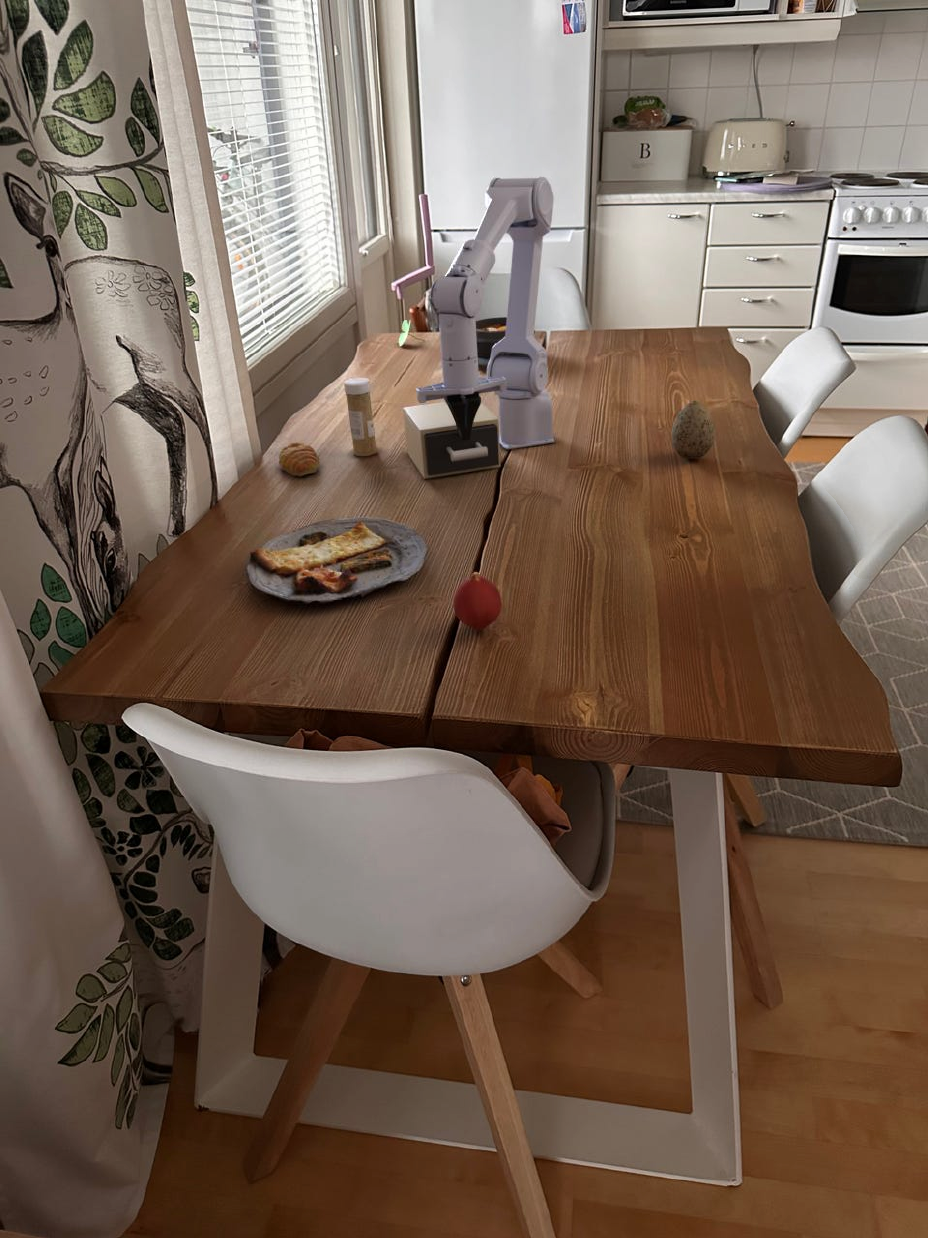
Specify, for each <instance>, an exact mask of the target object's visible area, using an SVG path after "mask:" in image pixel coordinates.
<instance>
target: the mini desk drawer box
mask: <svg viewBox="0 0 928 1238" xmlns="http://www.w3.org/2000/svg"><path fill="white" fill-rule="evenodd" d="M402 409H403V410H402V411H403V421H404V430H405V432H404V433H405V441H406V452H407V455H408V457H409V458H410V459H411V461H412V462H413V464H414V465H415V467H416V469H417V470H418V472H419V473H420V474H421V476H422V477H423V479H432V478H439V477H445V476H453V475H458V474H463V473H465V474H466V473H470V472H471V473H472V472H477V471H483V470H489V469H490V470H491V469H495V468H500V467H501V451H500V450H501V449H500V447H501V445H500V443H499V434H500V425H499V417H497V416H496V415H495V414H494V413H493V412H492V411H491V410H490V409H489V408H488V407H487V406H486V405H485V404H484V403H483V402H481V405H480V407H479V408H478V411H477V413H476V416H475V418H474V422H473V425H472V427H476V426H483V425H496V426H497V432H498V455H499V465H494V466H488V467H481V468H475V469H468V470H462V471H456V472H449V473H443V474H436V475H430V476H429V475H428V473H427V462H426V450H425V439H424V435H425V434H429V433H435V432H442V431H449V430H456V429H457V426H456V423H455V420H454V418H453V416H452V413H451V411H450V409H449V407H448V405H447V404H446V402H445V401H441V402H435V403H434V402H433V403H427V404H420V405H412V406H406V407H403V408H402Z"/></svg>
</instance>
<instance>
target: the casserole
mask: <svg viewBox="0 0 928 1238" xmlns="http://www.w3.org/2000/svg"><path fill="white" fill-rule="evenodd" d="M506 321H507V316H504V317H501V316H500V317H488V318H484V319H479V320H476V339H477V357H478V367H488V364H489V361H490V358H491V352H492V347H493V346H494V345H495V344H497V343H498V342H499V341H500V340H502V339H503V338H504V337H505V333H506ZM535 334H536V330H535V329H534V335H535ZM508 356H520V357H530V356H529V355H528V354H522V353H510V354H509V355H508Z"/></svg>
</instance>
